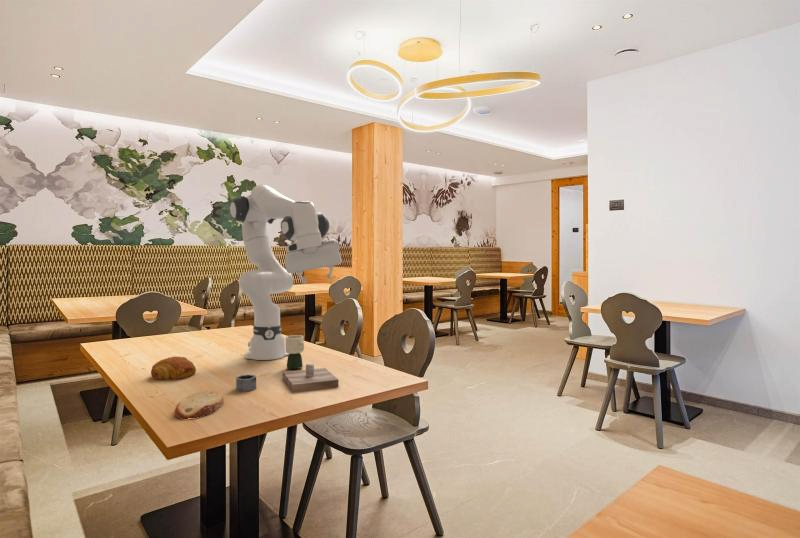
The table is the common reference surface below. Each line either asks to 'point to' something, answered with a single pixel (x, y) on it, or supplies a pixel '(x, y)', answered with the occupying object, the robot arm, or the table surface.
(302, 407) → the table surface
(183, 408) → the bread slice
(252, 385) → the steel ring
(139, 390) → the table surface
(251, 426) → the table surface
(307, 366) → the post stand
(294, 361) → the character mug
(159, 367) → the croissant
